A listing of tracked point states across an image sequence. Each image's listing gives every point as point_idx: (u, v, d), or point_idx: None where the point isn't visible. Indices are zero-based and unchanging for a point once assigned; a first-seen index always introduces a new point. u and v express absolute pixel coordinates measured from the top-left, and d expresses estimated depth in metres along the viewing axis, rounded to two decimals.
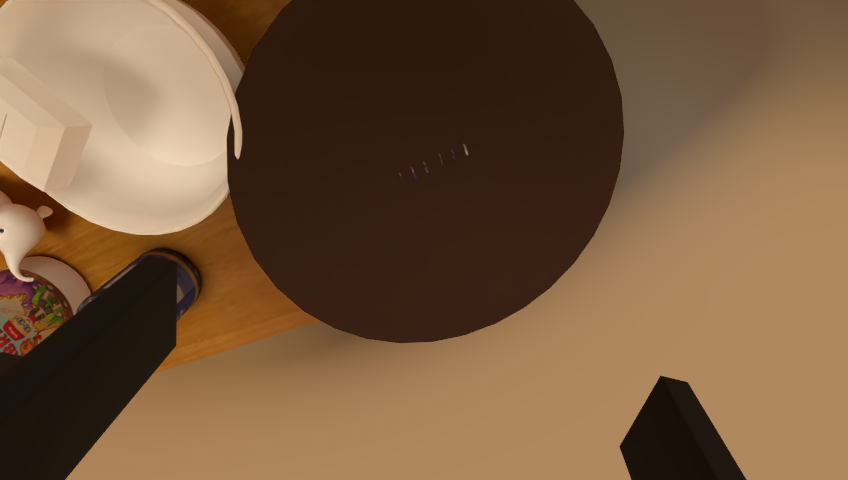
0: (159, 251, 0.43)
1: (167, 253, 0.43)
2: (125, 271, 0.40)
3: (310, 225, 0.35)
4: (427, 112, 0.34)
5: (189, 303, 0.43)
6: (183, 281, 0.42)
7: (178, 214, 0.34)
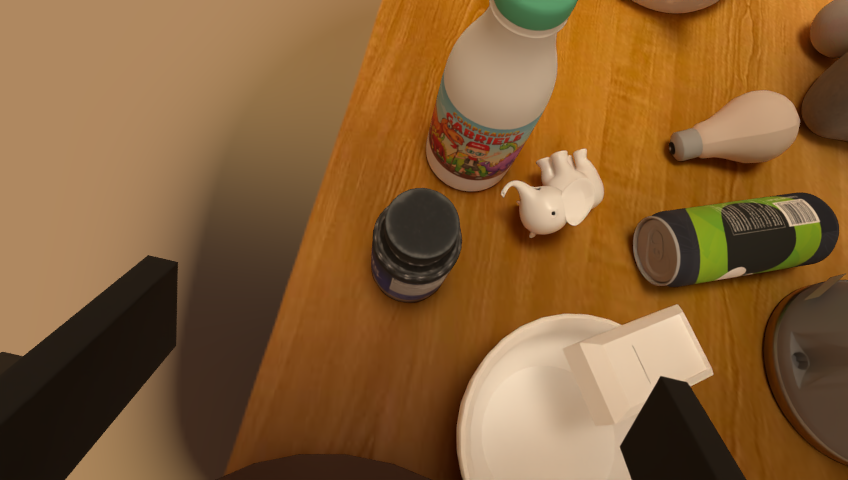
0: None
1: (431, 294, 0.40)
2: None
3: None
4: None
5: (377, 278, 0.38)
6: (401, 296, 0.38)
7: (474, 403, 0.31)
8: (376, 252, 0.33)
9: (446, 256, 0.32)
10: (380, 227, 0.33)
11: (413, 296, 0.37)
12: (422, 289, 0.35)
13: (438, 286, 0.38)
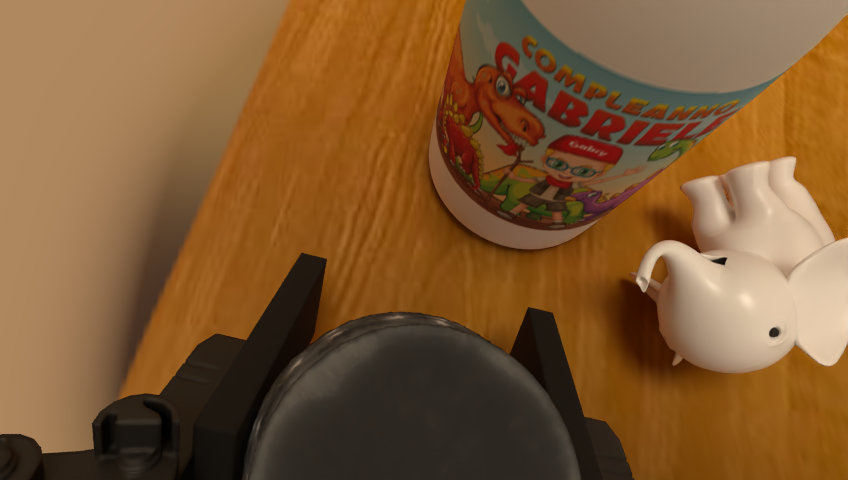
0: None
1: None
2: None
3: None
4: None
5: None
6: None
7: None
8: None
9: None
10: None
11: None
12: None
13: None
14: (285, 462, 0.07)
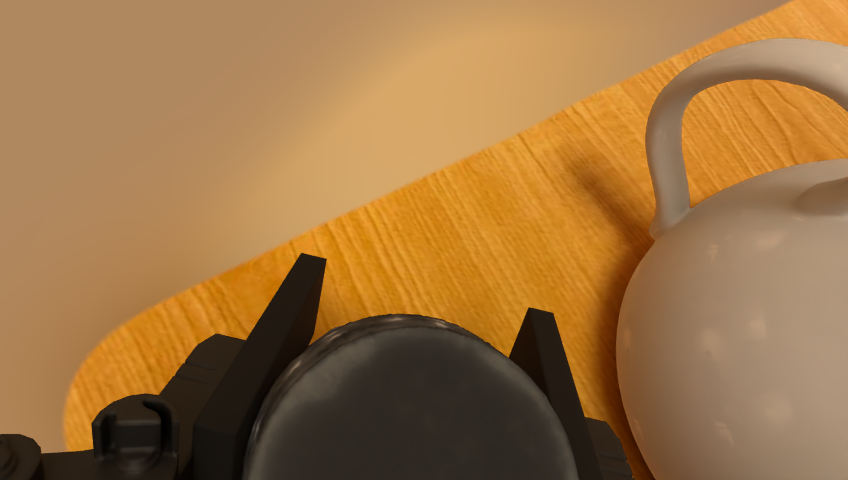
0: None
1: None
2: None
3: None
4: None
5: None
6: None
7: None
8: None
9: None
10: None
11: None
12: None
13: None
14: (283, 465, 0.07)
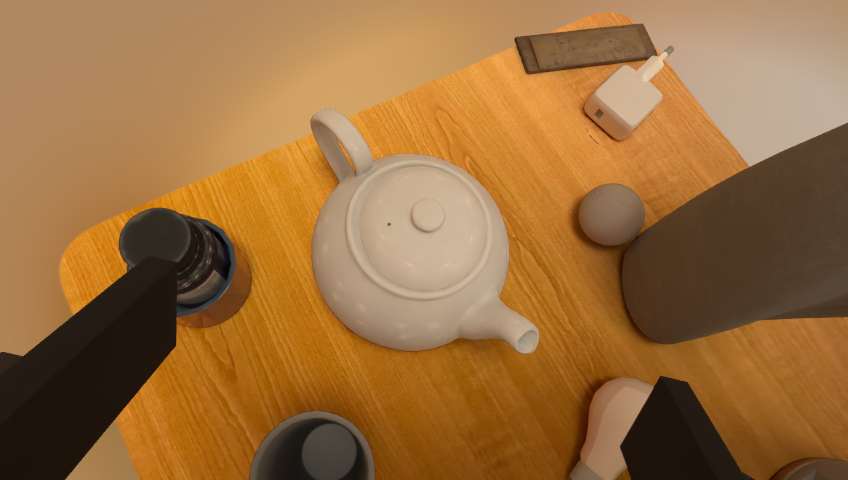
0: None
1: None
2: (222, 279, 0.40)
3: None
4: None
5: None
6: (180, 304, 0.41)
7: None
8: (129, 265, 0.36)
9: (190, 269, 0.36)
10: None
11: (189, 305, 0.40)
12: (186, 298, 0.38)
13: None
14: (127, 232, 0.34)
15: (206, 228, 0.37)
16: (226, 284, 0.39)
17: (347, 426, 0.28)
